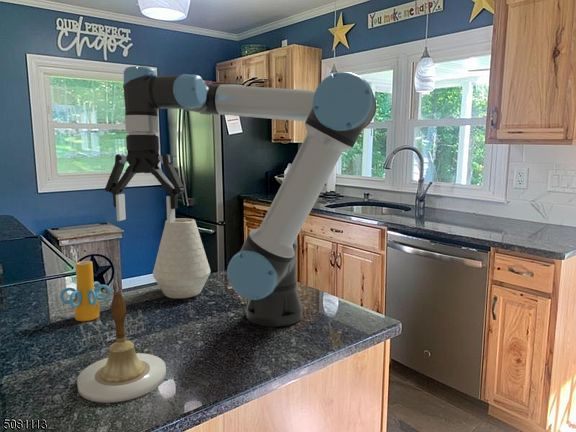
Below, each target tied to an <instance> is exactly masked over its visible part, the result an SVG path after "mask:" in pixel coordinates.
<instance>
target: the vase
mask: <svg viewBox="0 0 576 432" xmlns="http://www.w3.org/2000/svg"><path fill="white" fill-rule="evenodd" d="M211 272H212V271H211V268H210V264H209V262H208V258H207V255H206V251H205V248H204V244H203V242H202V238H201V234H200V232H199V228H198V225H197V222H196V219H194V218H186V217H185V218H175V222H172V223H167V219H166V220H165V222H164V227H163V231H162V236H161V239H160V242H159V247H158V251H157V254H156V259H155V264H154V268H153V271H152V277H153V279H154V280H155V282H156V284H157V285H158V286H159V289H160V290H161V292H162V293H163V295H164V296H165V297H167V298H169V299H175V300H176V299H177V300H178V299H180V300H182V299H189V298H193V297H196V296H198V295H200V294H201V292H202V290H203V288H204V286H205V285H206V283H207V280H208V279H209V276H210V275H211Z"/></svg>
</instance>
